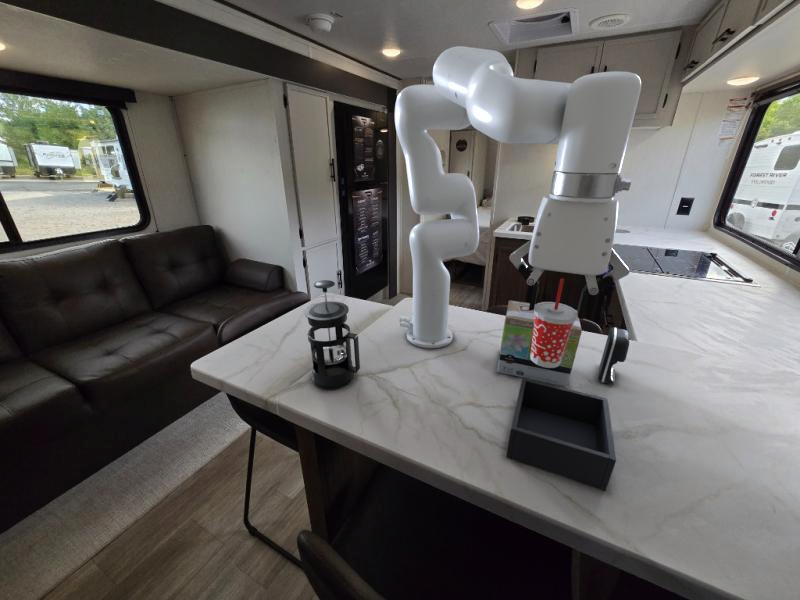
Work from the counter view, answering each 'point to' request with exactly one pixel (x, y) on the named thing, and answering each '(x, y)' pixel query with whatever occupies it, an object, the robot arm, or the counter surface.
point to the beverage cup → (551, 331)
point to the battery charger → (613, 354)
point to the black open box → (563, 433)
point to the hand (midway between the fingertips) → (555, 310)
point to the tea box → (519, 348)
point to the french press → (331, 342)
